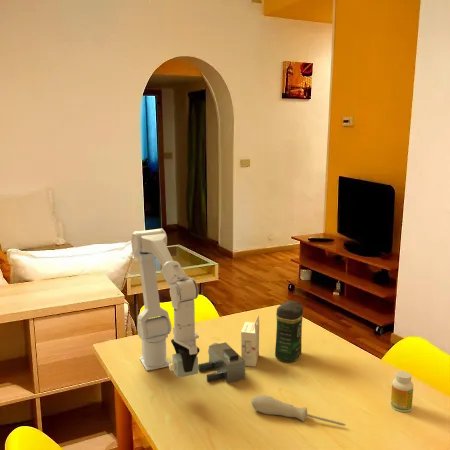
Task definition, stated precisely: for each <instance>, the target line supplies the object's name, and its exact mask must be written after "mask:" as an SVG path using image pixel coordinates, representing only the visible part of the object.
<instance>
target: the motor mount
mask: <svg viewBox="0 0 450 450" xmlns="http://www.w3.org/2000/svg"><path fill="white" fill-rule="evenodd" d="M207 354H208V362H203V363H198V373H199V372H204V371H208V370H212V369H214V370H215V372H212V373H208V374H206V381H207V383H211V382H214V381H220V380H224V382H225V383H226V384H230V383H235V382H238V381H242V380H243V381H244V380H246V366H245V360H244V359H243V358H242V357H241V355H240V354H239V353H238V352H237V351H235V350H234V348H232V346H230V345H229V344H228V343H227V342H221V343H219V342H213V343H212V344H211V345H209V346H208V350H207Z"/></svg>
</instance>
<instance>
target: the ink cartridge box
mask: <svg viewBox="0 0 450 450" xmlns="http://www.w3.org/2000/svg"><path fill="white" fill-rule="evenodd" d="M240 343H241V345H240V346H241V349H240V350H241V351H240V352H241V355H240V356H241V357H242V358H243V359H244V360H245V367H256V366H257V363H258V360H259V356H260V316H259V314H258V315H257V316H256V319H255V321H254V322H250V321H245V322H244V324H243V327H242V328H241V331H240Z"/></svg>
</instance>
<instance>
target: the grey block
mask: <svg viewBox="0 0 450 450" xmlns="http://www.w3.org/2000/svg"><path fill="white" fill-rule="evenodd" d="M169 363H170V362H169ZM198 364H199V357H198V355H197V356H196V359H195V362H194V366H193V370H192V371H191V372H186V373H185V371H184V368H183V362H182V358H181V355H180V353H178V354H176V353H174V354H172V362H171V363H170V364H169V366H168V369H169V371H170V372H173V374H175V376H176V377H177V379H180V378H185V377H189V376H194V375H198V374H199V371H198Z"/></svg>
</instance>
